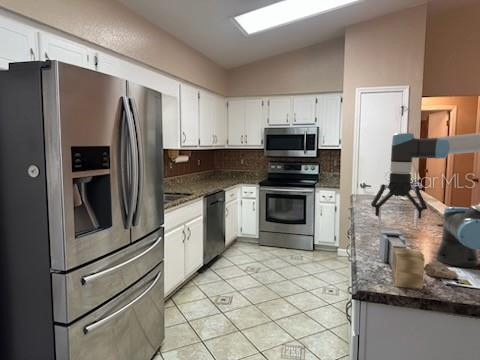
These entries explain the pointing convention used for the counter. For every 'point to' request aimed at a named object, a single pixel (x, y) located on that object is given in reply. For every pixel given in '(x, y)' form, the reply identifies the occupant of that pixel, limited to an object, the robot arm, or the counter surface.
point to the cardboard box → (408, 268)
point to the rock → (439, 270)
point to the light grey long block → (393, 246)
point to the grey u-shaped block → (384, 242)
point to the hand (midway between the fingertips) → (397, 225)
